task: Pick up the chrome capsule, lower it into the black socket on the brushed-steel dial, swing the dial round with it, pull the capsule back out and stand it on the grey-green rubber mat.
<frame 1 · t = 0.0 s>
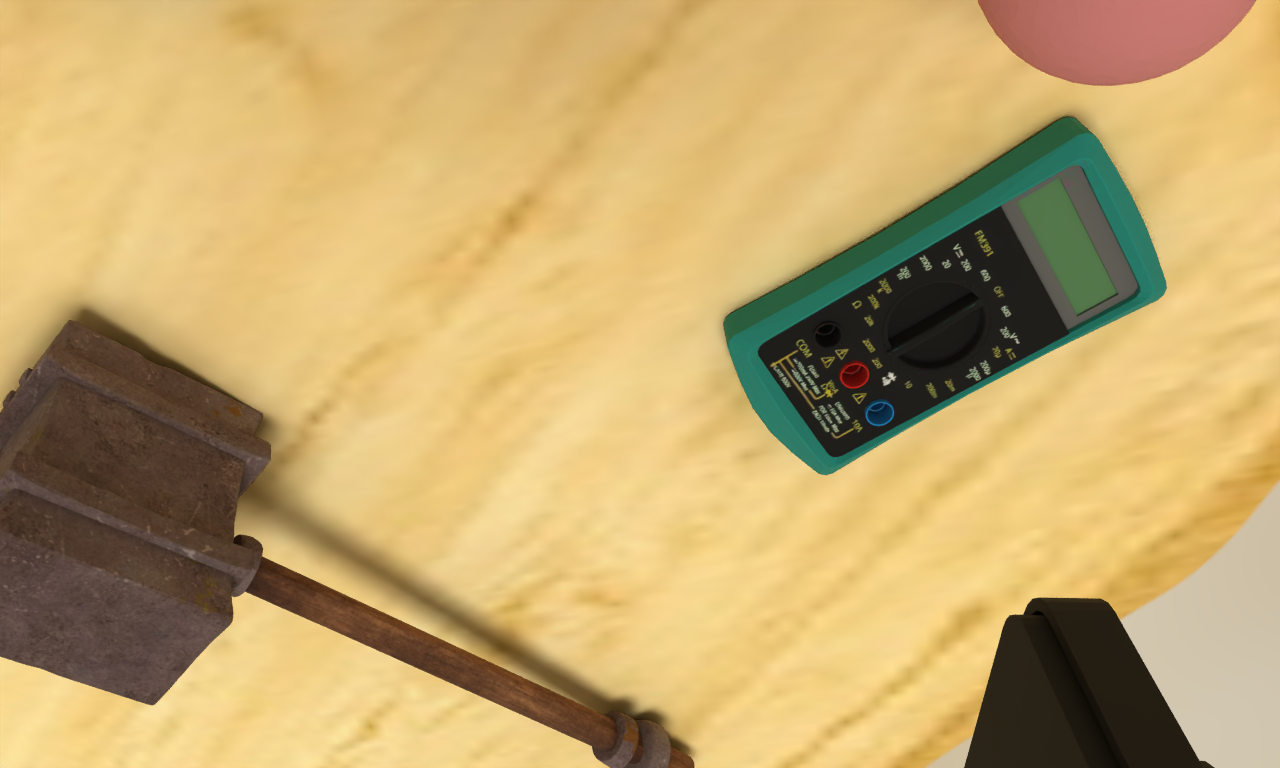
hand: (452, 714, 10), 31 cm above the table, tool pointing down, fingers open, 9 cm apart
hammer: (406, 574, 49), on the table
digital multimeter: (928, 287, 44), on the table
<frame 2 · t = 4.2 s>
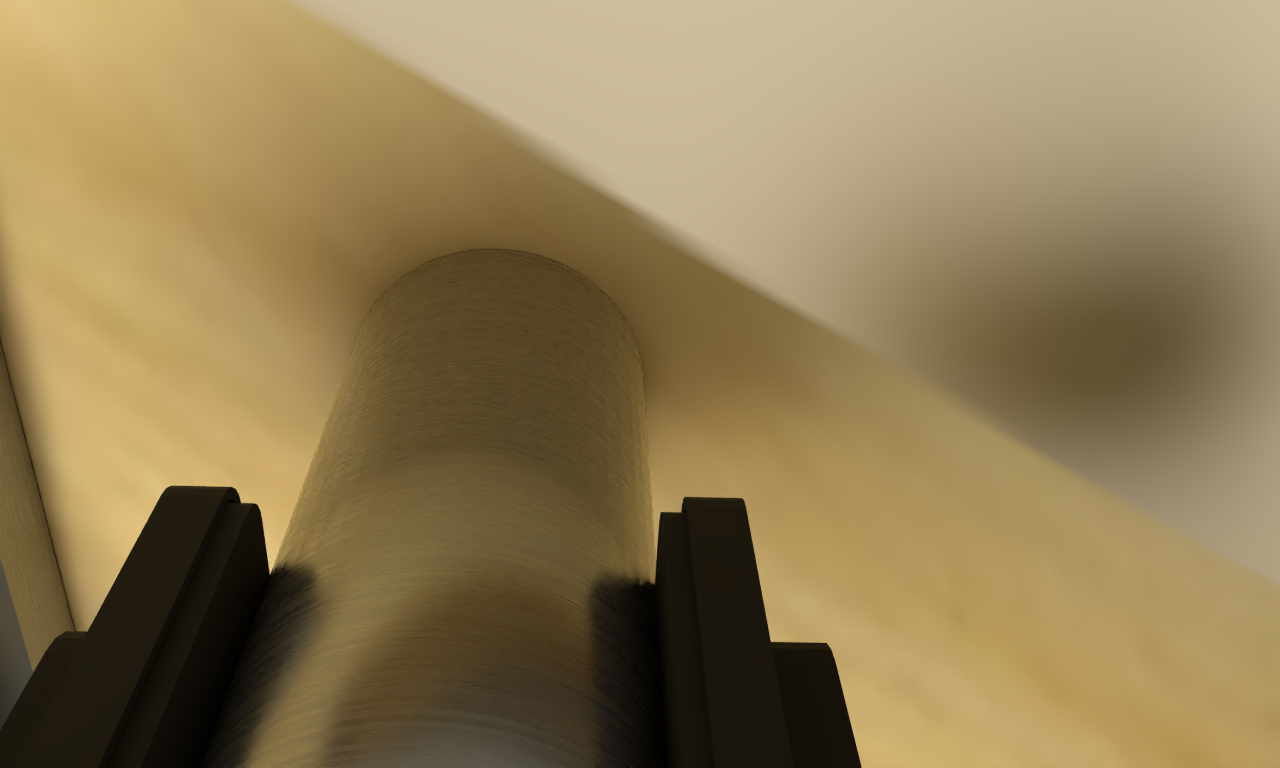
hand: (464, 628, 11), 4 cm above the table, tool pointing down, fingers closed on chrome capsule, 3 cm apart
chrome capsule: (499, 381, 15), on the table, touching gripper
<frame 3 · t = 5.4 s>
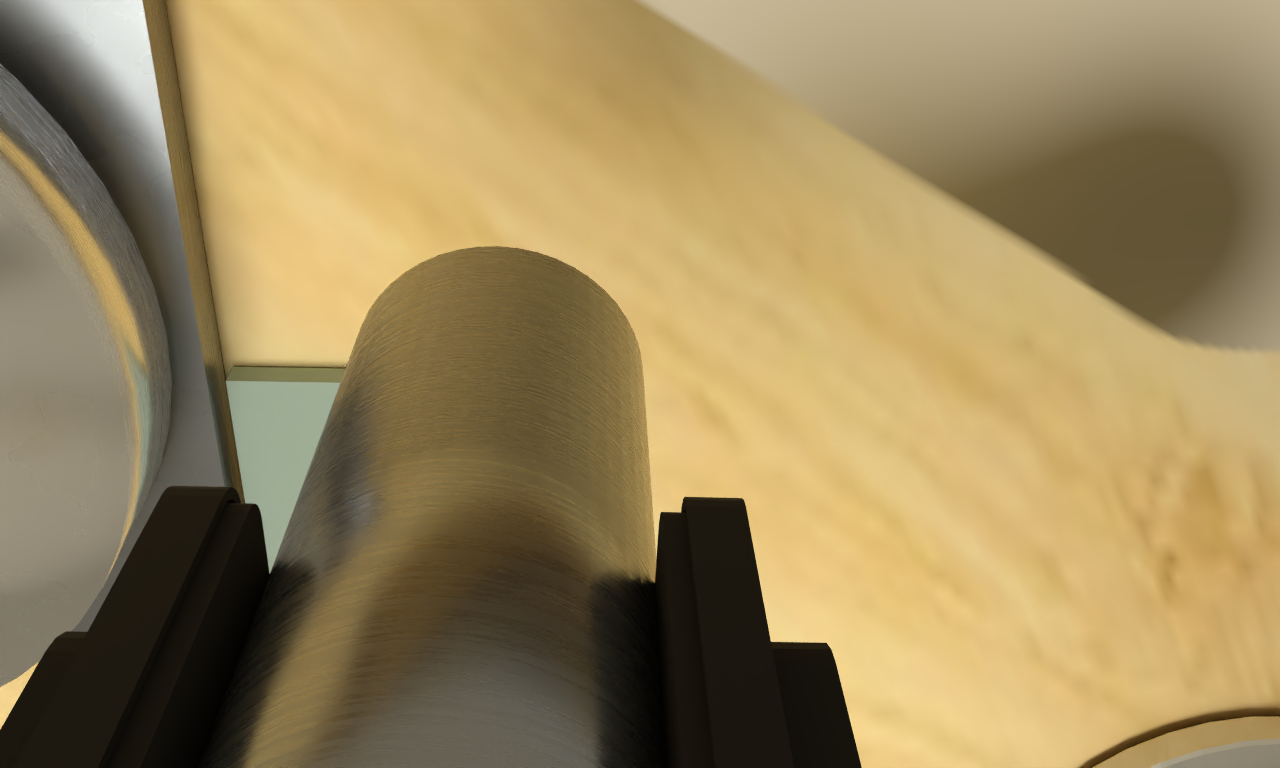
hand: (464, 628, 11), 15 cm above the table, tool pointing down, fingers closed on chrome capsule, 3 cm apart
chrome capsule: (499, 378, 15), point 10 cm above the table, touching gripper
key mat: (414, 503, 28), on the table
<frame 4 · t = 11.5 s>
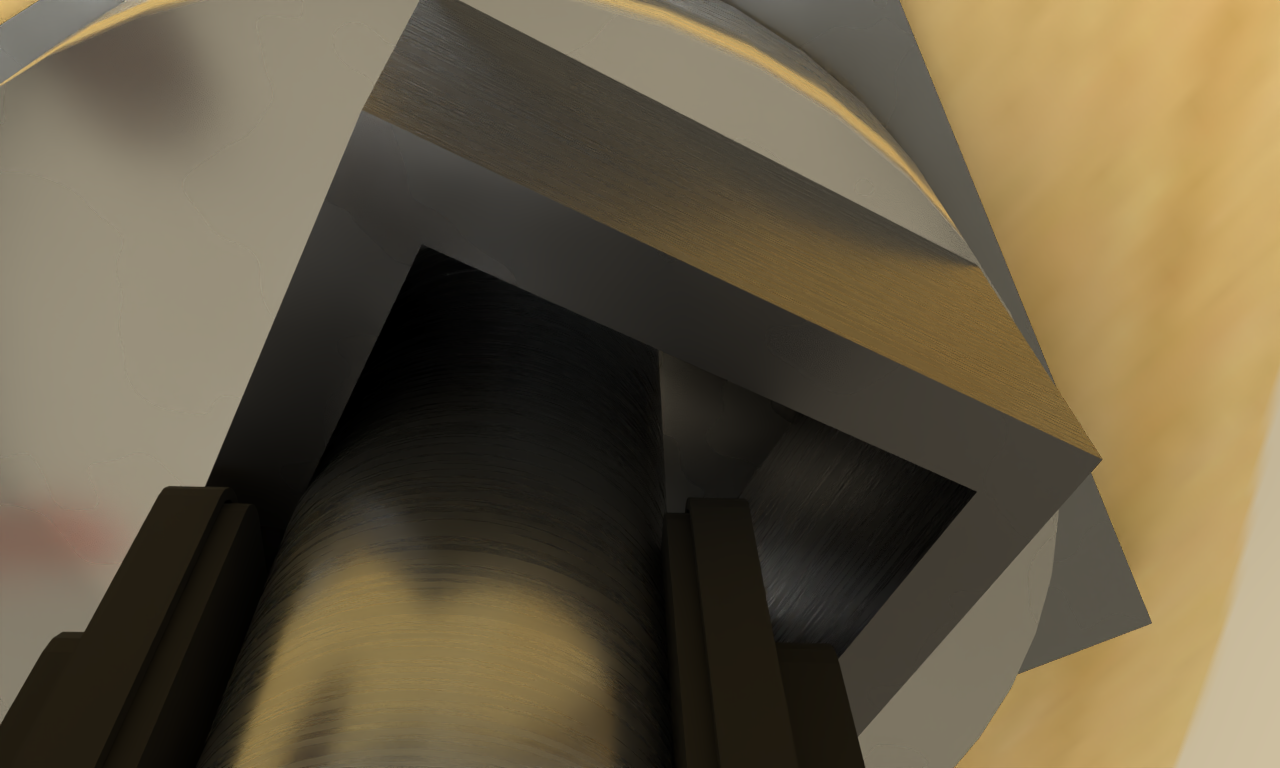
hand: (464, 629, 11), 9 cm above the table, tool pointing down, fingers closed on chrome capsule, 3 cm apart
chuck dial: (443, 635, 16), point 5 cm above the table, hinge at 34.0°, touching chrome capsule
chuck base: (475, 430, 20), on the table
chrome capsule: (511, 360, 14), point 4 cm above the table, touching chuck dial, gripper
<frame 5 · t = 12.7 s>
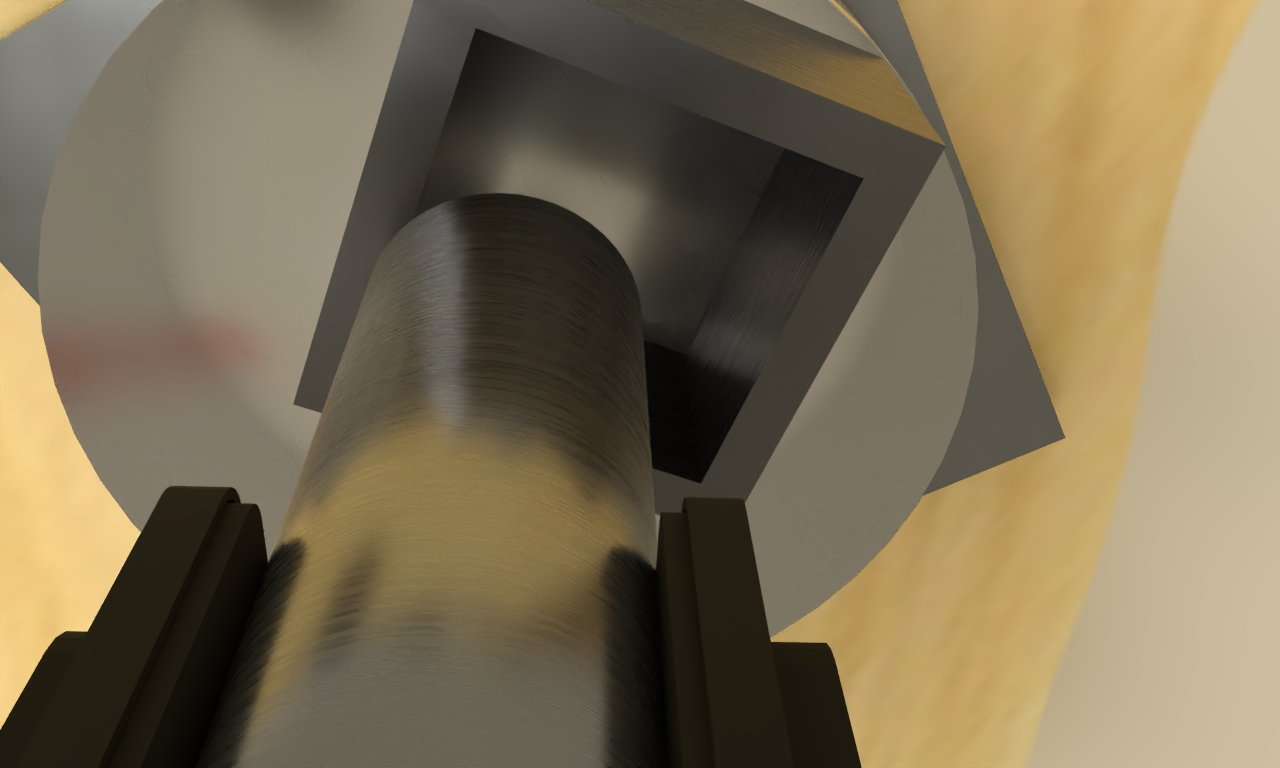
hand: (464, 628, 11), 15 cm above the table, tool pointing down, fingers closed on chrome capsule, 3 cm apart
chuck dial: (516, 391, 21), point 5 cm above the table, hinge at 40.8°
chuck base: (529, 268, 25), on the table
chrome capsule: (504, 320, 15), point 9 cm above the table, touching gripper
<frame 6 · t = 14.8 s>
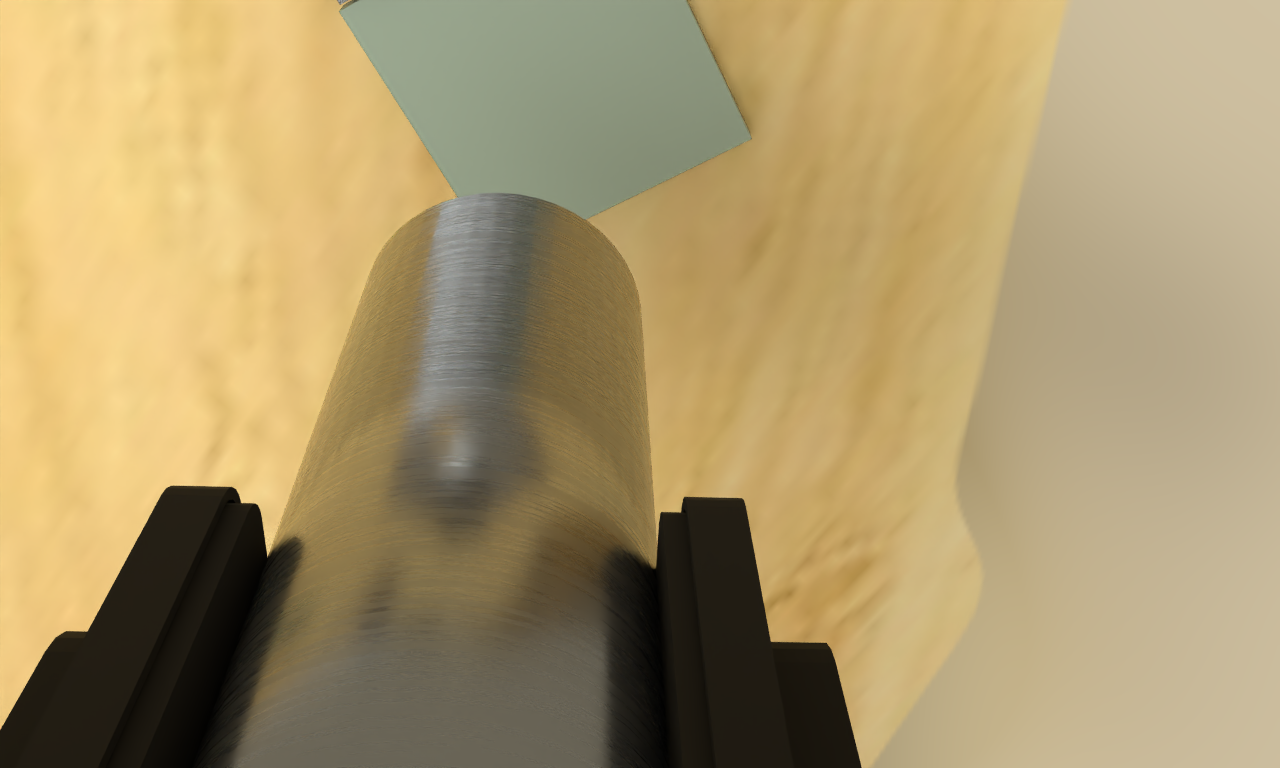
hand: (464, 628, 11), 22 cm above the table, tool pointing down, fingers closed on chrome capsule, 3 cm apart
chrome capsule: (503, 321, 15), point 16 cm above the table, touching gripper
key mat: (553, 70, 30), on the table
when the fingers open (7 cm above the table, at t = 18.3 s): chrome capsule stays where it is, resting on key mat.
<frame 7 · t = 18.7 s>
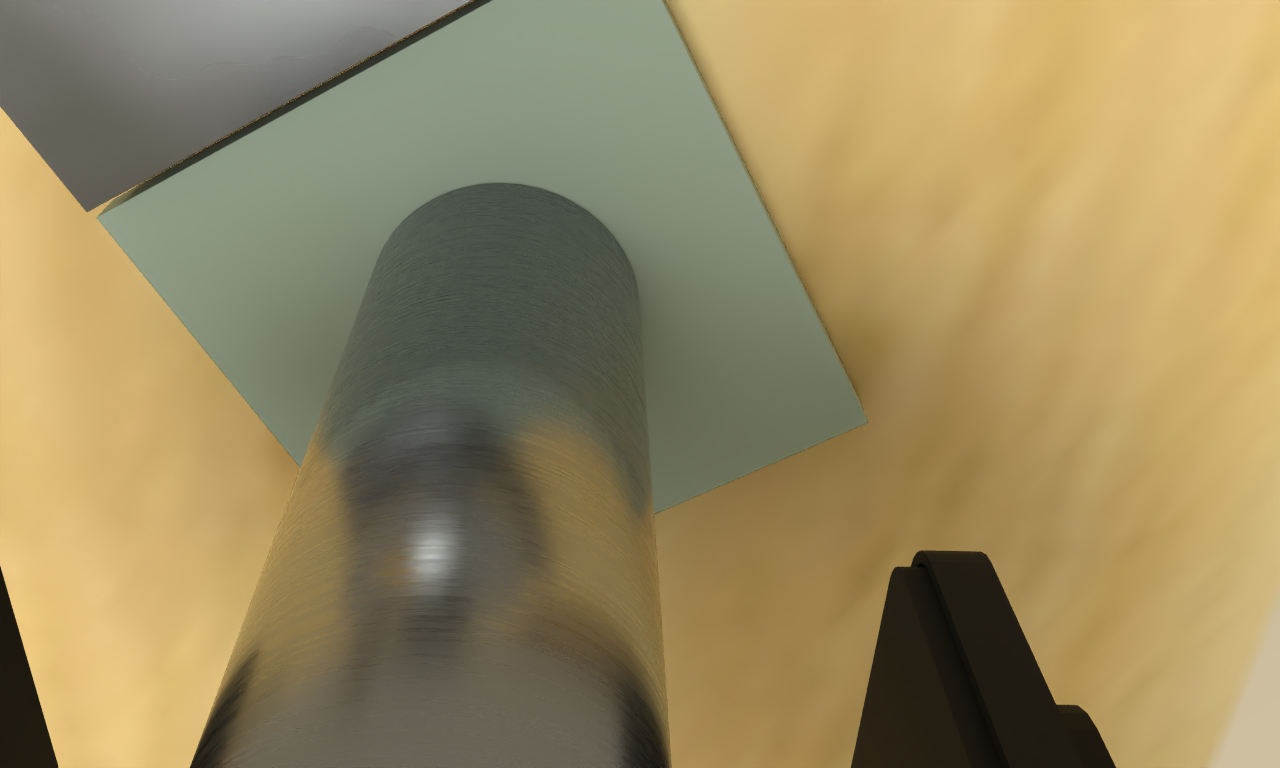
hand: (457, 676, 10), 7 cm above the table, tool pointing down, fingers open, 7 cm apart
chrome capsule: (505, 309, 16), point 1 cm above the table, touching key mat
key mat: (509, 306, 16), on the table
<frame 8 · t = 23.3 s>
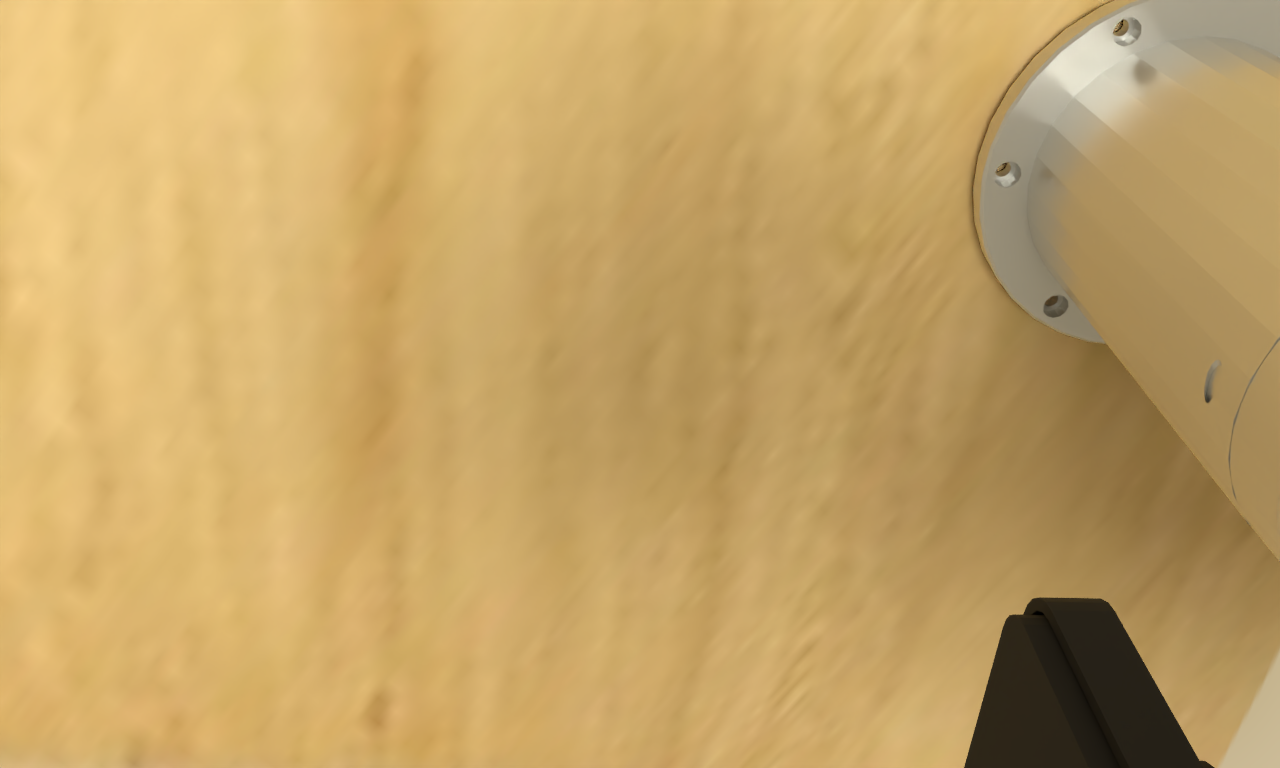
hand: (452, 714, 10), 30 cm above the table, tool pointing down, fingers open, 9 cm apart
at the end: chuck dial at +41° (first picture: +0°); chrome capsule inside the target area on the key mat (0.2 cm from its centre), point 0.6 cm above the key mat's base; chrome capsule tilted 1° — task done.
